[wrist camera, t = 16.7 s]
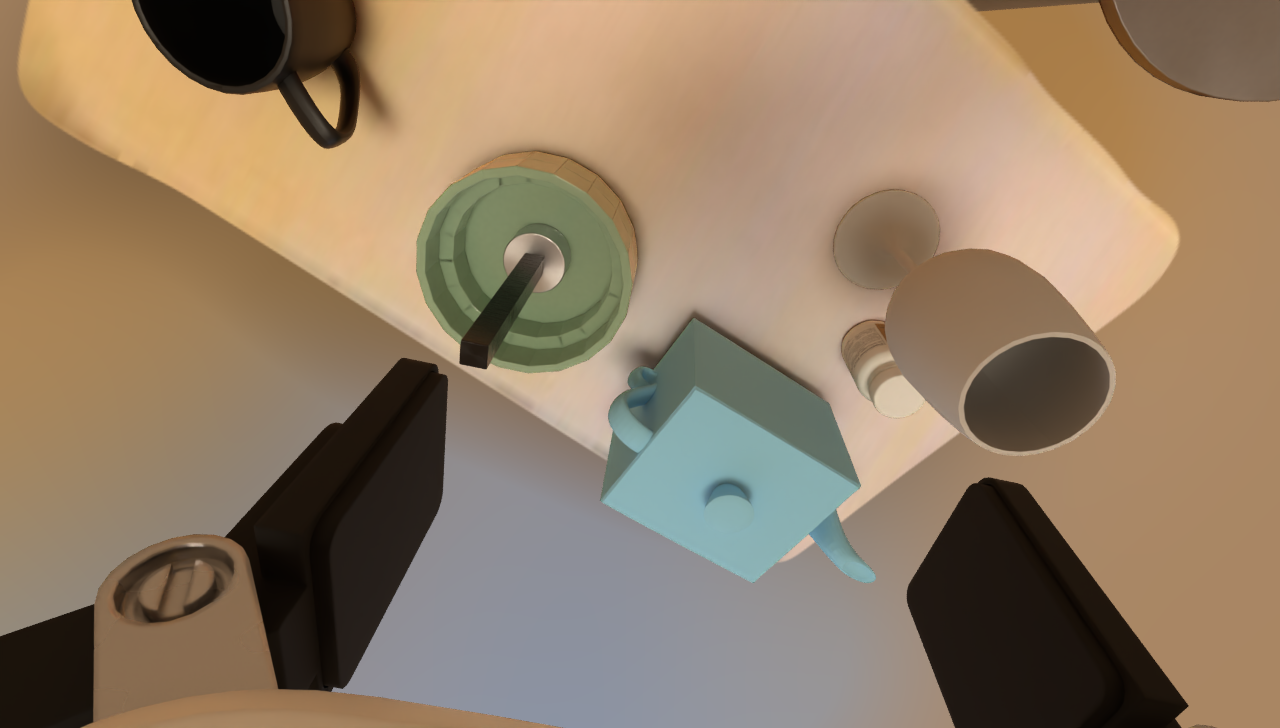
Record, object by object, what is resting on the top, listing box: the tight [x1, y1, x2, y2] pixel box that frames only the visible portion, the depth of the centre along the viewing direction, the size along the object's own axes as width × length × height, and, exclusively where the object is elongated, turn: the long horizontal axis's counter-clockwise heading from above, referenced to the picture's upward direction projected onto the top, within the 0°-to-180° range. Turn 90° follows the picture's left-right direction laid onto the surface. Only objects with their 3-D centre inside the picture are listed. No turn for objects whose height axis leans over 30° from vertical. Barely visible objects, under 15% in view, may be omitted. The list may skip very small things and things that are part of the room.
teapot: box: [600, 318, 876, 583], centre depth 44 cm, size 22×11×14 cm, turn 57°
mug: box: [132, 0, 360, 149], centre depth 35 cm, size 8×12×10 cm
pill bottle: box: [841, 321, 926, 418], centre depth 43 cm, size 4×4×8 cm
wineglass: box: [833, 190, 1116, 456], centre depth 33 cm, size 8×8×21 cm
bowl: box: [416, 151, 638, 373], centre depth 42 cm, size 14×14×6 cm
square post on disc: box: [459, 224, 571, 369], centre depth 37 cm, size 4×4×16 cm
